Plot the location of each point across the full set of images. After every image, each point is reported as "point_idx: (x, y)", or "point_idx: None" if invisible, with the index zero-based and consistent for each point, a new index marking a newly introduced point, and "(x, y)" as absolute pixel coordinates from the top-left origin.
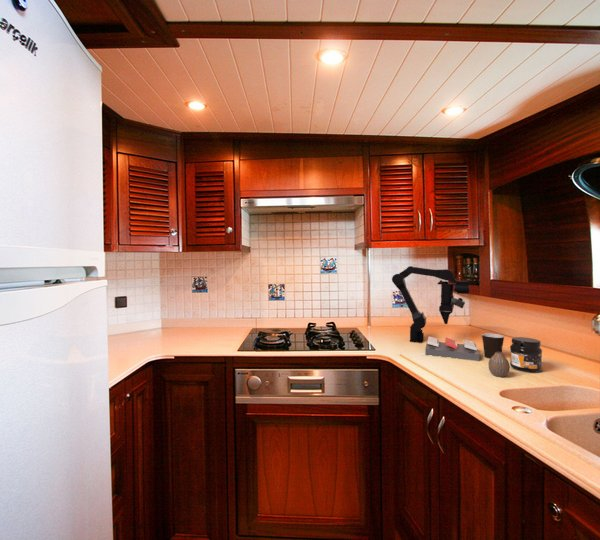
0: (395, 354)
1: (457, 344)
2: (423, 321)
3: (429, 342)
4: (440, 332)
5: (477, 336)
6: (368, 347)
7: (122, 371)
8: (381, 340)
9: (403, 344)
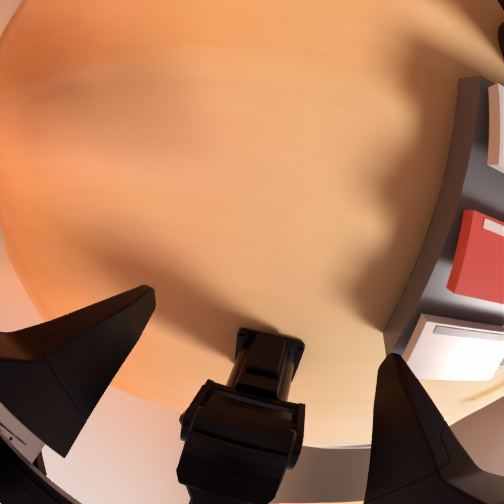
0: (461, 408)
1: (476, 203)
2: (290, 455)
3: (493, 369)
4: (45, 204)
5: (57, 41)
6: None
7: None
8: None
9: (342, 398)
